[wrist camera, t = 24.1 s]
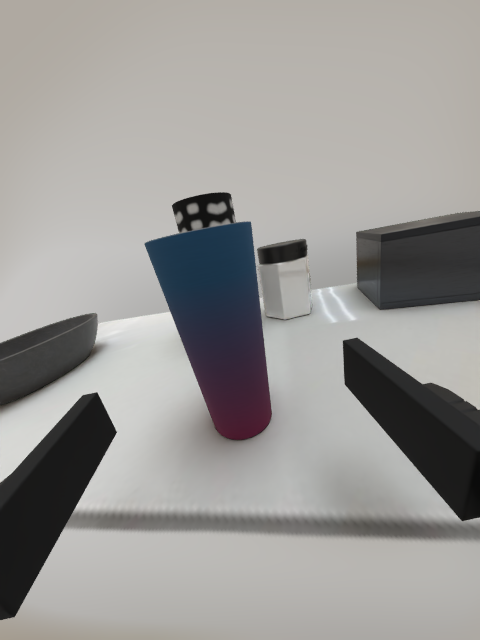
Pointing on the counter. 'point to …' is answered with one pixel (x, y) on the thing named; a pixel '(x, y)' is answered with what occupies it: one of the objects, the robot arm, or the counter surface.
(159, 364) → the counter surface
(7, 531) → the robot arm
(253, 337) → the cup
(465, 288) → the drawer box
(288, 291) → the jar
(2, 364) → the bowl
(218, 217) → the spotted tube
